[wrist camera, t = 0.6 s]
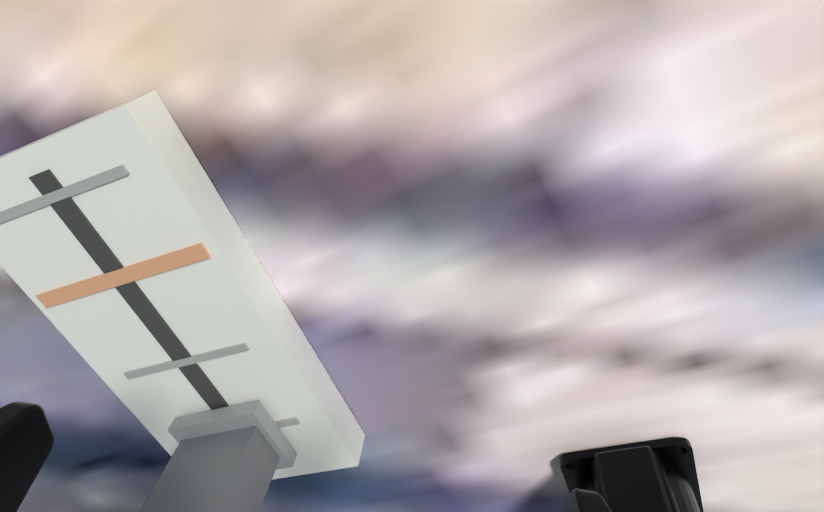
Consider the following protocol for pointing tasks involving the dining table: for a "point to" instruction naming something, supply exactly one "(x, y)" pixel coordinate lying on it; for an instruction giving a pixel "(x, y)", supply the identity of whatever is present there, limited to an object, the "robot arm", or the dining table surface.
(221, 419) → the fader slider
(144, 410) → the fader console
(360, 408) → the dining table surface
